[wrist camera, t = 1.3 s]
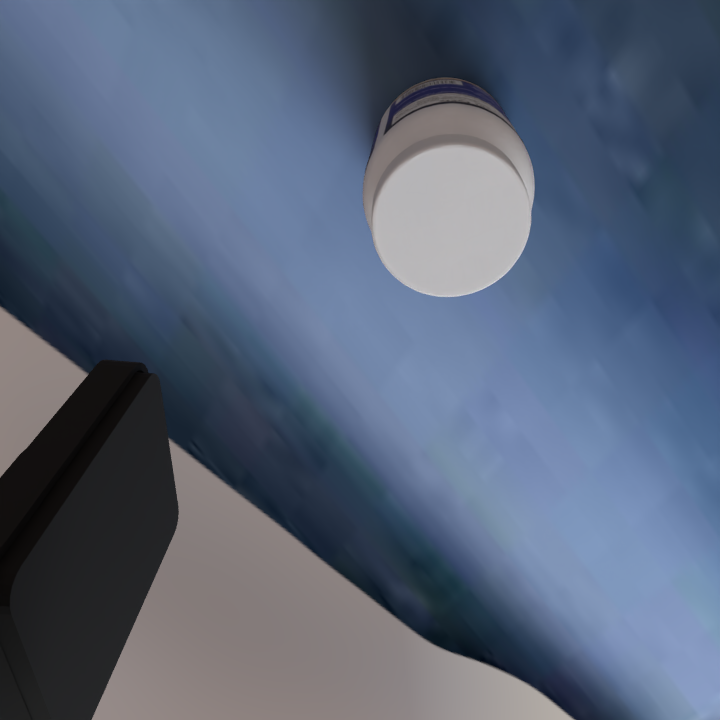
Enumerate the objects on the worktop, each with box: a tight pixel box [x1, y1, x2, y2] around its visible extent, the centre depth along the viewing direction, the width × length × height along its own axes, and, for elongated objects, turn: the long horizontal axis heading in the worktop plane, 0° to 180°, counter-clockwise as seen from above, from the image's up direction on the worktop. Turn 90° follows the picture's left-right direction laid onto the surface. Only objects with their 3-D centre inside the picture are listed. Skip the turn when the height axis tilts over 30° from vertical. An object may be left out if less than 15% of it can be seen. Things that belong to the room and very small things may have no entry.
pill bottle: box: [363, 78, 535, 297], centre depth 23 cm, size 6×6×10 cm
